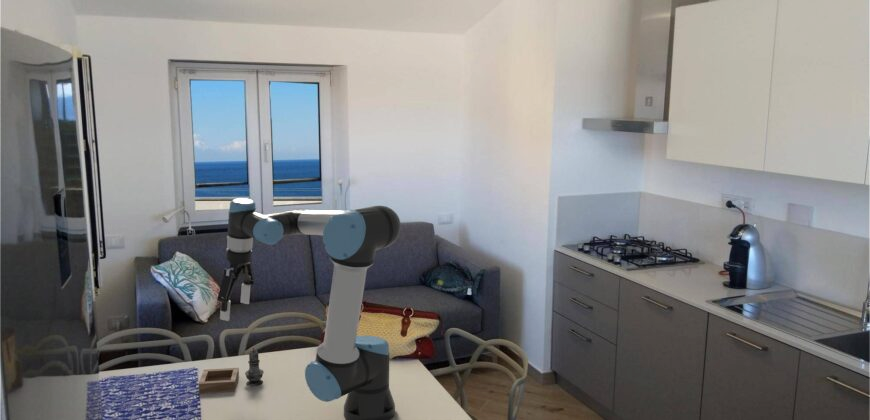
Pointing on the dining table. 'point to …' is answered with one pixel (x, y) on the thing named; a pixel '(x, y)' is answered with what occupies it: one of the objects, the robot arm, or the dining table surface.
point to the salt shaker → (254, 370)
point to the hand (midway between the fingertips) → (234, 311)
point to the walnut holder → (219, 380)
